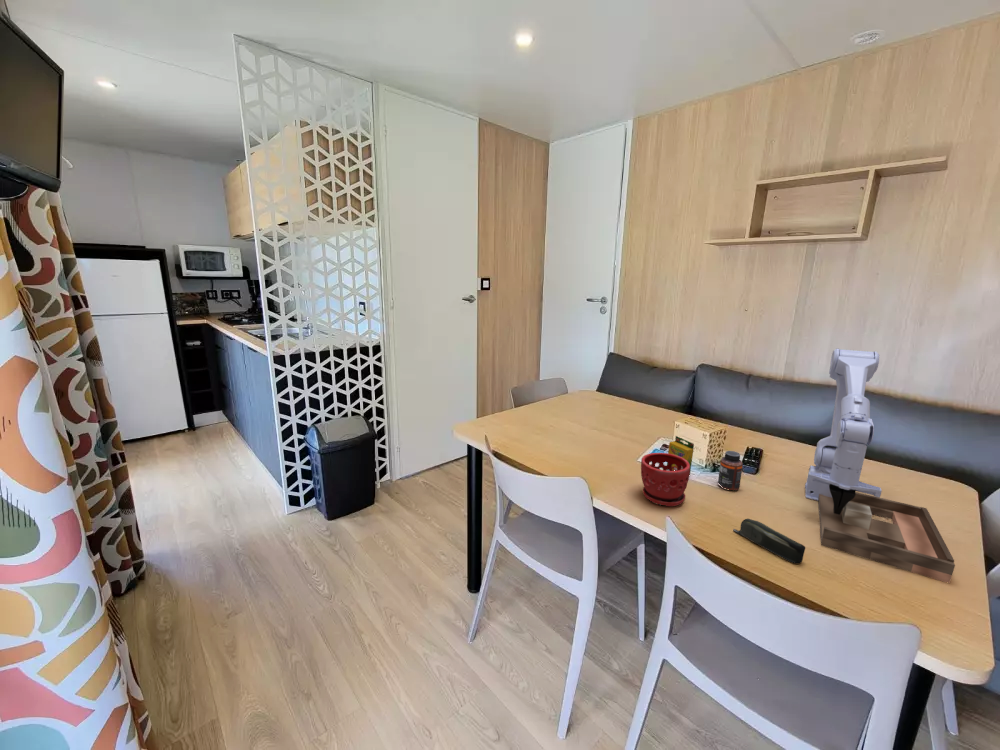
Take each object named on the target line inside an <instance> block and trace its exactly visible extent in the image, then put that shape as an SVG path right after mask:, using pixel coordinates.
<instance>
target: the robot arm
mask: <svg viewBox="0 0 1000 750" xmlns="http://www.w3.org/2000/svg"><path fill="white" fill-rule="evenodd" d="M879 364H880V354H879V352H878V351H876V350H875V351H868V350H867V351H866V350H854V349H853V350H852V349H840V348H835V349H834V350H832V353H831V358H830V366H829V378H831V379H832V380H834V381H835V384H836V393H835V401H834V408H833V415H832V423H831V428H830V435H829V436H826V437H824V438H821V439H820V440H818V442H817V443H816V448H815V450H814V451H815V452H814V457H813V464H814V465H810V466H809V469H808V474H807V477H806V482H805V484H804V489H805V498H806V499H809V500H813V501H814V500H815V501H817V502H818V497H819V494H821V495H824V496H827V497H831V498H833V503H834V509H833V511H834V513H835V514H838V515H840V513H841V511H842V510H843V508H844V507H845V506H846V504H847V503H848V502H849V501H851V500H852V499H853V498H854V497H855V495H856V493H855V492H857V493H862V494H866V495H870V496H874V497H879V498H881V495H882V492H883V491H882V488H881V487H879V486H876V485H872V484H869V483H867V482H866V483H865V482H862V481H860V479H861V478H860V477H861V473H862V470H863V465H864V460H865V457H866V452H867V449H868V448H867V447H868V446H871V443H872V442H873V439H874V434H875V427H874V422H873V419H872V418H871V401H870V399H869V398H867V397H865V393H866V385H867V382H869V381H870V380H871V379H872V378H873V377H874V375H875V373H876V372H877V370H878V368H879Z"/></svg>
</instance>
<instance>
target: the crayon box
mask: <svg viewBox="0 0 1000 750" xmlns="http://www.w3.org/2000/svg"><path fill="white" fill-rule="evenodd" d="M684 442H685V443H684ZM694 446H695V445H694V443H693V442H691V441H688V440H686V439H684V438H681V437H679V436H678V435H675V439H674V441H673V440H672V441H669V444H668V451H667V453H668V454H673V455H677V456H679V457H682V458H684V459H685V460H687V461H688V462H689V464H690V472H691V469H692V465H693V464H692V461H693V457H694V456H693V454H694V448H695V447H694ZM666 465H668V463H667V462H666ZM672 469H673V470H675V471H677V470H678V468H677V466H676V465H675V464H673V465H672ZM681 469H683V467H682V466H681Z"/></svg>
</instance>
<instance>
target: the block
mask: <svg viewBox="0 0 1000 750" xmlns="http://www.w3.org/2000/svg"><path fill="white" fill-rule="evenodd" d="M871 518H872V519H873V514H872V513H871V509H870V507H869V506H865V505H861V504H857V503H853V502H848V503H847V504H846V506H845V507H844V508H843V511H842V519H843V523H846V524H850V525H853V526H857V527H861V528H864V529H868V530H869V526H870V522H871Z"/></svg>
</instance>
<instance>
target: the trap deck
mask: <svg viewBox="0 0 1000 750" xmlns="http://www.w3.org/2000/svg"><path fill="white" fill-rule="evenodd" d="M855 493H856V495H855V497H854V498H853V499H852V500H851V501H849V502H853V503H857V504H861V505H865V506H869V507H870V509H871V513H872V516H873V515H874V516H878V517H882V518H886V519H889V520H891V521H892V522H888V521H885V520H881V519H876V518H873V517H872V518H871V522H870V526H869V530H868V529H864V528H861V527H857V526H853V525H850V524H846V523H843V519H842V511H843V510H842V511H841V513H840V515H838V514H835V513H834V511H833V509H834V503H833V498H831V497H827V496H824V495H821V494H819V497H818V501H817V507H818V520H819V533H820V534H819V535H820V536H819V537H820V545H821V546H823V547H826V548H830V549H834V550H835V551H839V552H844V553H846V554H850V555H854V556H857V557H860V558H863V559H867V560H871V561H873V562H877V563H880V564H884V565H887V566H891V567H894V568H897V569H900V570H904V571H907V572H910V573H913V574H916V575H921V576H924V577H927V578H929V579H933V580H937V581H941V582H943V583H947V582H948V583H947V584H951V580H952V576H953V573H954V570H955V567H956V564H955V559H954V557H953V555H952V554H951V551H950V550H949V548H948V546H947V544H946V542H945V540H944V538H943V536H942V535H941V533H940V531H939V529H938V527H937V526H936V523H935V522H934V520H933V517H932V516H931V514H930V512H929V510H928V508H927V507H924V506H923V507H922V506H917V505H912V504H908V503H903V502H901V501H900V502H899V501H896V500H892V499H891V500H890V499H886V498H882V497H880V498H879V497H875V496H874V495H871V494H867V493H862V492H858V491H856V492H855Z"/></svg>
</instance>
